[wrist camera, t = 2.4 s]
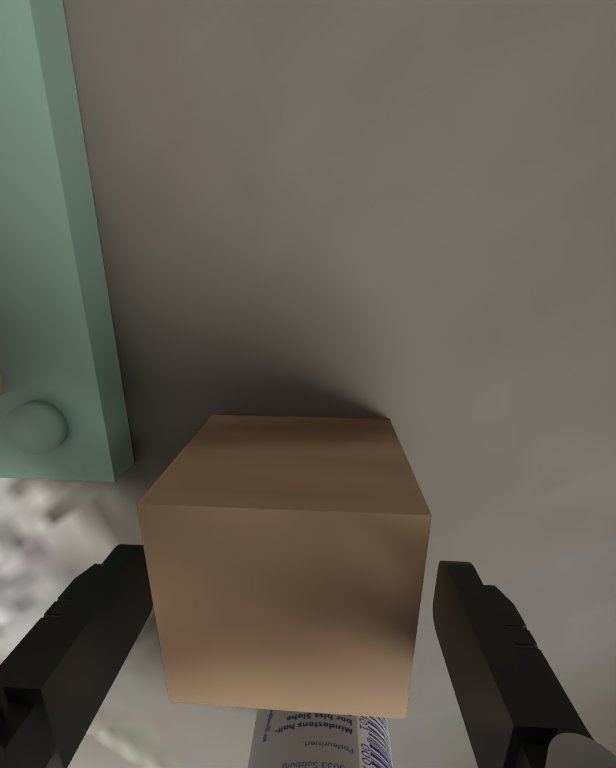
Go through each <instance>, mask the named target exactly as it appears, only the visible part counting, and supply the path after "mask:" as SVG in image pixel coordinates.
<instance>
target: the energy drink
mask: <svg viewBox="0 0 616 768" xmlns="http://www.w3.org/2000/svg"><path fill="white" fill-rule="evenodd" d="M248 768H393V764H392V757H391V749H390V742H389V734H388V727H387V719H386V718H384V717H370V716H355V715H341V714H327V713H312V712H298V711H284V710H269V709H258V710H257V716H256V722H255V728H254V734H253V740H252V746H251V752H250V758H249V764H248Z"/></svg>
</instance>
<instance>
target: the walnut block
mask: <svg viewBox="0 0 616 768" xmlns="http://www.w3.org/2000/svg"><path fill="white" fill-rule="evenodd" d="M137 510H138V516H139V522H140V528H141V534H142V540H143V546H144V552H145V558H146V564H147V570H148V576H149V582H150V588H151V594H152V600H153V606H154V612H155V618H156V624H157V630H158V636H159V642H160V648H161V654H162V660H163V666H164V672H165V678H166V684H167V690H168V696H169V702H170V703H183V704H198V705H212V706H226V707H241V708H255V709H269V710H284V711H298V712H312V713H327V714H341V715H355V716H370V717H384V718H398V719H405V718H406V710H407V702H408V695H409V687H410V679H411V671H412V664H413V656H414V648H415V640H416V633H417V625H418V617H419V609H420V602H421V594H422V586H423V578H424V571H425V563H426V555H427V547H428V540H429V532H430V524H431V516H432V515H431V513H430V511H429V508H428V506H427V504H426V501H425V499H424V497H423V494H422V492H421V490H420V488H419V485H418V483H417V481H416V478H415V476H414V474H413V472H412V469H411V467H410V465H409V462H408V460H407V458H406V456H405V453H404V451H403V449H402V446H401V444H400V442H399V440H398V437H397V435H396V433H395V430H394V428H393V426H392V423H391V421H390V419H364V418H324V417H284V416H244V415H212V416H211V417H210V418H209V419H208V420H207V421H206V423H205V424H204V425H203V426H202V427H201V429H200V430H199V431H198V432H197V433H196V434H195V436H194V437H193V438H192V439H191V440H190V441H189V443H188V444H187V445H186V446H185V447H184V448H183V450H182V451H181V452H180V453H179V454H178V456H177V457H176V458H175V459H174V460H173V461H172V463H171V464H170V465H169V466H168V467H167V468H166V470H165V471H164V472H163V473H162V474H161V476H160V477H159V478H158V479H157V480H156V481H155V483H154V484H153V485H152V486H151V487H150V488H149V490H148V491H147V492H146V493H145V494H144V496H143V497H142V498H141V499H140V500H139V501H138V503H137Z"/></svg>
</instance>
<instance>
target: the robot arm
mask: <svg viewBox="0 0 616 768" xmlns="http://www.w3.org/2000/svg"><path fill="white" fill-rule="evenodd" d="M152 608H153V600H152V594H151V588H150V582H149V576H148V570H147V564H146V558H145V552H144V546H143V545H128V544H120V545H118V546H116V547H115V548H114V549H113V551H112V552H111V553H110V554H109V556H108V557H107V558H106V559H105V561H104V562H103V563H102V564H94V565H93V566H91V567H90V568H89V569H87V570H86V571H85V572H83V573H82V574H80V575H79V576H78V577H76V578H75V579H74V580H73V581H72V582H71V583H70V585H69V586H68V587H67V588H66V589H65V590H64V592H63V593H62V594H61V595H60V596H59V597H58V601H57V602H54V603H53V604H52V605H51V607H50V608H49V609H48V610H47V611H46V612H45V614H44V617H43V618H40V619H39V621H38V622H37V623H36V624H35V625H34V626H33V628H32V629H31V630H30V631H29V632H28V633H27V635H26V636H25V637H24V638H23V639H22V640H21V641H20V643H19V644H18V645H17V646H16V647H15V648H14V650H13V651H12V652H11V653H10V654H9V655H8V657H7V658H6V659H5V660H4V661H3V662H2V664H1V665H0V768H67V767H68V765H69V764H70V762H71V760H72V758H73V756H74V754H75V752H76V751H77V749H78V747H79V745H80V743H81V741H82V739H83V737H84V736H85V734H86V732H87V730H88V728H89V726H90V725H91V723H92V721H93V719H94V717H95V715H96V713H97V712H98V710H99V708H100V706H101V704H102V702H103V700H104V699H105V697H106V695H107V693H108V691H109V689H110V687H111V686H112V684H113V682H114V680H115V678H116V676H117V674H118V673H119V671H120V669H121V667H122V665H123V663H124V661H125V660H126V658H127V656H128V654H129V652H130V650H131V648H132V647H133V645H134V643H135V641H136V639H137V637H138V635H139V634H140V632H141V630H142V628H143V626H144V624H145V622H146V621H147V619H148V617H149V615H150V613H151V610H152ZM433 619H434V625H435V630H436V634H437V637H438V640H439V643H440V647H441V650H442V653H443V656H444V659H445V663H446V666H447V669H448V672H449V675H450V679H451V682H452V685H453V688H454V691H455V695H456V698H457V701H458V704H459V707H460V711H461V714H462V717H463V720H464V723H465V727H466V730H467V733H468V736H469V739H470V743H471V746H472V749H473V752H474V755H475V759H476V762H477V765H478V768H616V756H615V755H614V754H613V753H612V752H610V751H609V750H608V749H606V748H605V747H604V746H602V745H601V744H599V743H597V742H596V741H594V739H593V738H592V737H591V735H590V734H589V732H588V730H587V729H586V727H585V726H584V724H583V722H582V720H581V719H580V717H579V715H578V714H577V712H576V710H575V708H574V707H573V705H572V703H571V702H570V700H569V698H568V696H567V695H566V693H565V691H564V690H563V688H562V686H561V684H560V683H559V681H558V679H557V678H556V676H555V674H554V672H553V671H552V669H551V667H550V666H549V664H548V662H547V660H546V659H545V657H544V655H543V654H542V652H541V650H539V649H538V647H537V643H536V642H535V640H534V638H533V636H532V635H531V633H530V631H529V630H527V628H526V624H525V623H524V621H523V619H522V618H521V616H520V614H519V612H518V611H517V609H516V607H515V606H514V604H513V603H512V602H511V601H510V600H509V599H508V598H507V597H506V596H505V595H504V594H503V593H502V592H501V591H500V590H499V589H498V588H497V587H496V586H492V585H483V583H482V581H481V579H480V577H479V575H478V574H477V572H476V570H475V568H474V566H473V565H472V564H471V563H470V562H457V561H440V563H439V566H438V572H437V579H436V586H435V594H434V601H433Z"/></svg>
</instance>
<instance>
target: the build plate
mask: <svg viewBox="0 0 616 768" xmlns="http://www.w3.org/2000/svg"><path fill="white" fill-rule="evenodd" d="M134 464H135V463H134V456H133V450H132V443H131V437H130V430H129V424H128V418H127V411H126V405H125V398H124V392H123V385H122V379H121V373H120V366H119V360H118V353H117V347H116V341H115V334H114V328H113V321H112V315H111V308H110V302H109V296H108V289H107V283H106V276H105V270H104V263H103V257H102V251H101V244H100V238H99V231H98V225H97V218H96V212H95V206H94V199H93V193H92V186H91V180H90V174H89V167H88V161H87V154H86V148H85V141H84V135H83V129H82V122H81V116H80V109H79V103H78V96H77V90H76V84H75V77H74V71H73V64H72V58H71V51H70V45H69V39H68V32H67V26H66V19H65V13H64V7H63V0H0V478H24V479H48V480H71V481H95V482H116V481H117V480H118V479H119V478H120V477H121V476H122V475H123V474H124V473H125V472H126V471H127V470H128V469H130V468H131V467H132V466H133V465H134Z"/></svg>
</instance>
